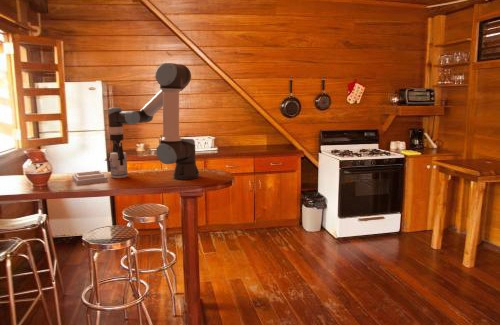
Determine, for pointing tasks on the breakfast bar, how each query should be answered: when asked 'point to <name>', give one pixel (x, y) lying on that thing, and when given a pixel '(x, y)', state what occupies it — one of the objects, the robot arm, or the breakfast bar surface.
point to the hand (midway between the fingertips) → (119, 169)
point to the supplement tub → (117, 166)
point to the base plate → (89, 177)
